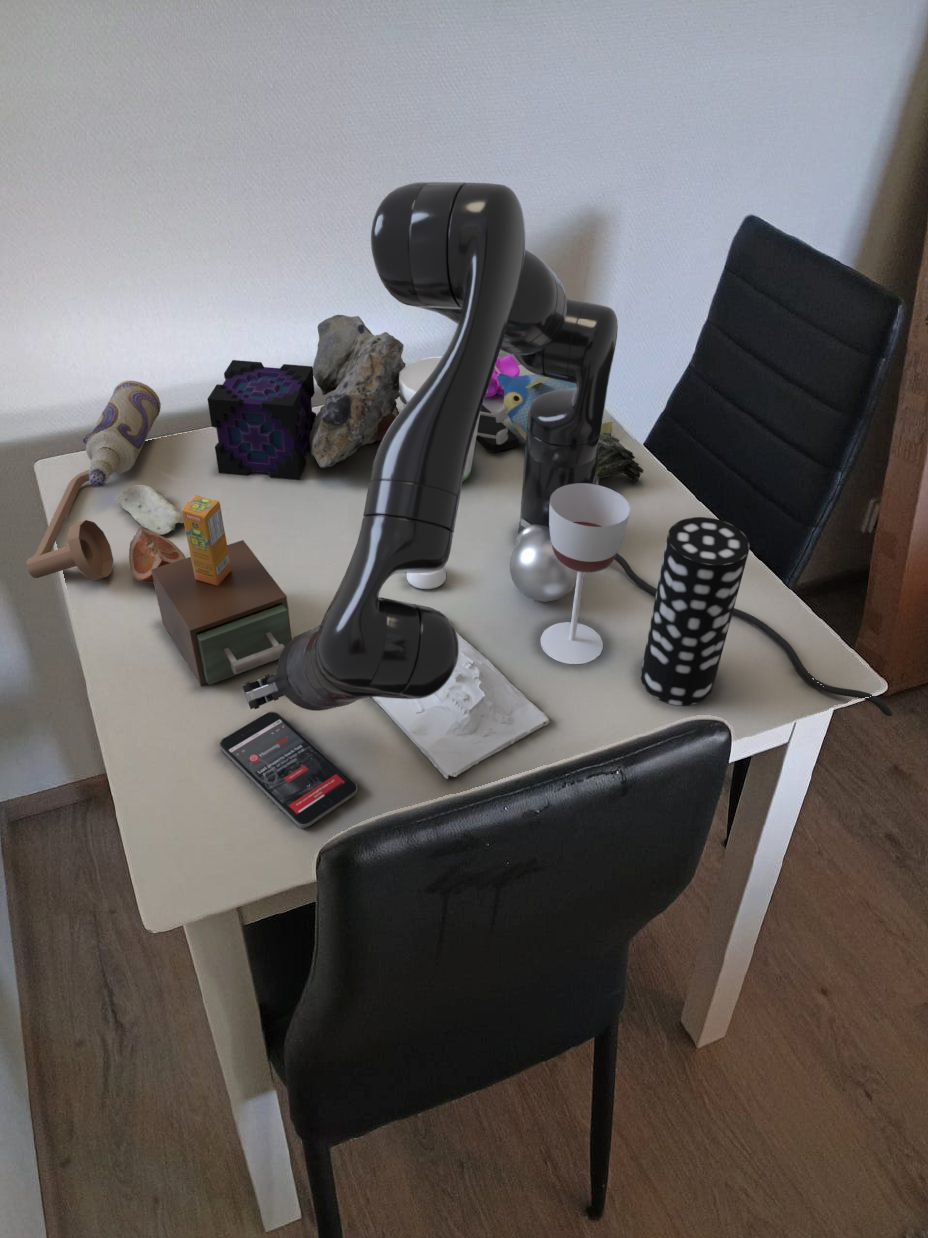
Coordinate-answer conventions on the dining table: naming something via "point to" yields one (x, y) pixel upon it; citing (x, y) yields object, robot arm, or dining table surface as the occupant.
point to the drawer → (243, 643)
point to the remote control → (493, 433)
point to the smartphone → (288, 768)
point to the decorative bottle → (121, 430)
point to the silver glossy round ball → (539, 566)
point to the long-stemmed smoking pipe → (73, 542)
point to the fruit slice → (150, 554)
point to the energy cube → (263, 419)
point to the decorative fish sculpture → (530, 397)
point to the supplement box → (206, 540)
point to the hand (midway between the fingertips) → (284, 682)
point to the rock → (352, 386)
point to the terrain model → (466, 715)
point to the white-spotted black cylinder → (693, 609)
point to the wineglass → (582, 557)
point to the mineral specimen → (615, 459)
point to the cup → (414, 379)
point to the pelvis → (504, 367)
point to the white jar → (427, 579)
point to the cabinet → (212, 599)
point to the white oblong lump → (150, 509)
